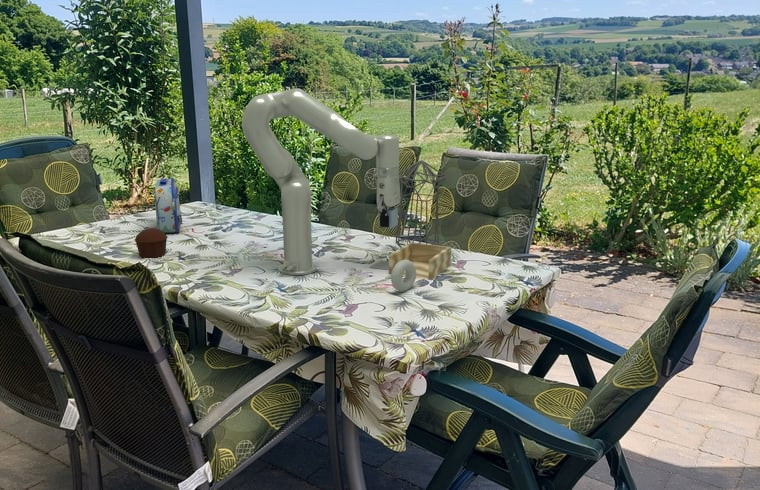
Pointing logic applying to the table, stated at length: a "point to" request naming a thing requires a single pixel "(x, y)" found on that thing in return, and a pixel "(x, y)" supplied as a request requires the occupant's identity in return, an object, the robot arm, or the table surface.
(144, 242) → the muffin
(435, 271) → the box
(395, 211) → the block
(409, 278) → the donut
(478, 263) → the table surface
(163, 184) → the lunch box
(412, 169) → the geometric lantern
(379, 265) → the coaster
